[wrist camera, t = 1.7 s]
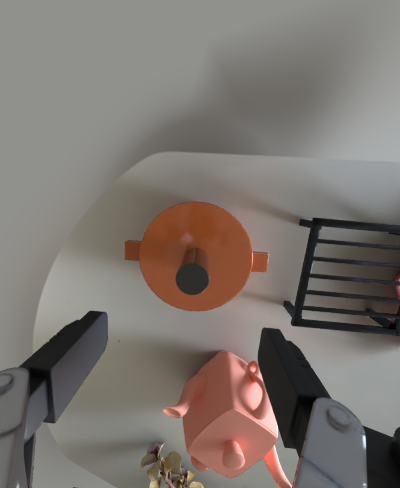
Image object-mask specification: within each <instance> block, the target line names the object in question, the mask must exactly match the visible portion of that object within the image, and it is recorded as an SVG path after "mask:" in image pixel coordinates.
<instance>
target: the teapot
mask: <svg viewBox="0 0 400 488" xmlns="http://www.w3.org/2000/svg"><path fill="white" fill-rule="evenodd" d="M164 413H165V414H167V415H168V416H171V417H174V418H180V417H182V416H183V427H184V435H185V442H186V448H187V451H188V453H189V454H190V455H191V461H192V464H193V465H194V467H195V468H196V469H197V470H199V471H206V470H208V469H209V468H211V469H213V470H214V471H216V472H218V473H220V474H221V475H223V476H225V477H227V478H235V477H237V476H239V475H241V474H242V473H244V472H245V471H247V470H248V469H249V468H251V467H252V466H254V465H255V464H256V463H257V462H258V461H260V460H261V459H262V458H264V460H265V463H266V465H267V467H268V469H269V471H270V472H271V474H272V476H273V478H274V480H275V481H276V483H277V484H278V485H279V487H280V488H292V486H291V484H290V483H289V481H288V480H287V478H286V477H285V475H284V473H283V471H282V469H281V466H280V463H279V460H278V457H277V453H276V449H275V443H276V441H277V439H278V430H277V422H276V419H275V416H274V413H273V410H272V407H271V404H270V400H269V397H268V394H267V391H266V388H265V385H264V382H263V379H262V376H261V373H260V370H259V366H258V362H257V361H252V362H250V363H249V364H248V363H246V362H245V361H243V360H242V359H240V358H239V357H237V356H236V355H234V354H233V353H231V352H229V351H219V352H217V353H216V355H215V357H214V358H212V359H211V360H210V361H209V362H207V363H206V364H205V365H204V366H203V367H202V368H201V369H200V370H199V371H198V373H197V374H196V375H195V376H193V377H192V378H191V379H190V380H188V382H187V383H186V385H185V386H184V388H183V391H182V394H181V398H180V401H179V403H178V404H177V405H175V406H172V407H167V408H165V409H164Z"/></svg>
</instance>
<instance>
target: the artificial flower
mask: <svg viewBox="0 0 400 488" xmlns="http://www.w3.org/2000/svg"><path fill="white" fill-rule="evenodd" d="M164 444H165V443H163V444H162V446H161V447H160V448H159V447H158V444H157V443H155V444H151V445H150V446H149V448H148V450H147V454H146V455H145V456H144V457H143V459H142V462H141V468H142V467H144V466H145V465H148V464H152V463H154V462H155V463H154V464H153V466H152V467H151V468H149V469H148V470H147V473H148V476H149V478H150V480H151V483H150V488H160V482H161V478H163V479H164V480H165V481H166V484H168V485H169V486H168V488H181V486H182V488H188V487H187V483H188V480H190V479H192V478H193V477H194V475H195V474H196V472H190V473H189V471H187V472H186V471H185V470H184V469H181V460H182V459H181V456H180V455H179V454H178V453H176V452H171V453H170V454H169V455H168V456H167V457H166V458H165V459H164V457H162V458H161V459H160V456H159V455H160V451H161V449H162V447H163V445H164ZM163 459H164V460H163ZM159 467H160V469H161V471H162V472H160V474H159ZM171 472H172V473H178V474H180V475H181V476H180V477H171ZM169 473H170V474H169ZM189 488H204V486H203V485H202V484H201V483H200V482H195V481H194V482H192V483H191V484H190V486H189Z"/></svg>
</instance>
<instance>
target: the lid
mask: <svg viewBox="0 0 400 488" xmlns="http://www.w3.org/2000/svg"><path fill="white" fill-rule="evenodd" d="M139 257H140V266H141V270H142V274H143V276H144V278H145V281H146V282H147V284H148V286H149V287H150V289H151V290H152V291H153V292H154V293H155V294H156V295H157V296H158V297H159V298H160V299H162V300H163V301H164V302H166V303H168V304H169V305H171V306H174V307H176V308H179V309H183V310H188V311H206V310H211V309H214V308H217V307H220V306H222V305H224V304H226V303H227V302H229V301H230V300H232V299H233V298H234V297H235V296H236V295H237V294H238V293H239V292H240V291H241V290H242V288H243V287H244V286H245V284H246V282H247V280H248V278H249V275H250V273H251V268H252V262H253V253H252V246H251V242H250V239H249V236H248V234H247V232H246V230H245V229H244V227H243V226H242V224H241V223H240V222H239V221H238V220H237V219H236V218H235V217H234V216H233V215H232V214H230V213H229V212H227V211H226V210H224V209H222V208H220V207H218V206H215V205H212V204H209V203H203V202H188V203H183V204H179V205H176V206H173V207H171V208H169V209H167V210H165V211H163V212H162V213H161V214H160V215H158V216H157V217H156V218H155V219H154V220H153V221H152V222H151V224H150V225H149V226H148V228H147V230H146V232H145V233H144V236H143V238H142V241H141V246H140V254H139Z"/></svg>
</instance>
